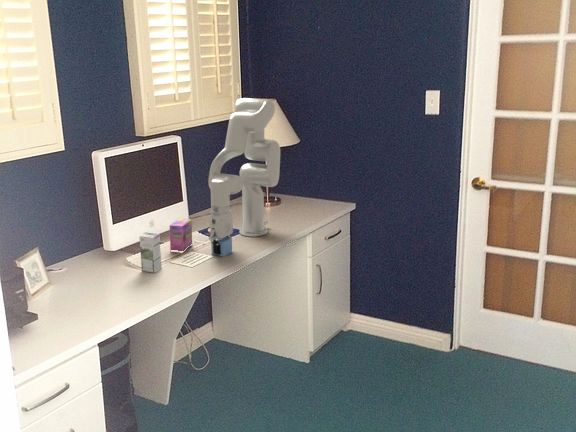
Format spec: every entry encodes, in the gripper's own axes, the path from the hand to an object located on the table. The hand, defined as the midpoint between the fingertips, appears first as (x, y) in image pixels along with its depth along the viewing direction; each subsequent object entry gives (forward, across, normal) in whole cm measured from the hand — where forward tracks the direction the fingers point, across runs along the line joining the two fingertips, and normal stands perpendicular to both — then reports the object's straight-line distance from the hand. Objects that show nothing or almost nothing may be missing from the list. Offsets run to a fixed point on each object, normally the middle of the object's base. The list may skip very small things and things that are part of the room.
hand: (221, 250), depth 275 cm
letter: (+1, -12, +6) cm, 14 cm away
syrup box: (+1, -29, +12) cm, 32 cm away
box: (+1, -4, +18) cm, 18 cm away
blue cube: (+1, 0, 0) cm, 1 cm away
